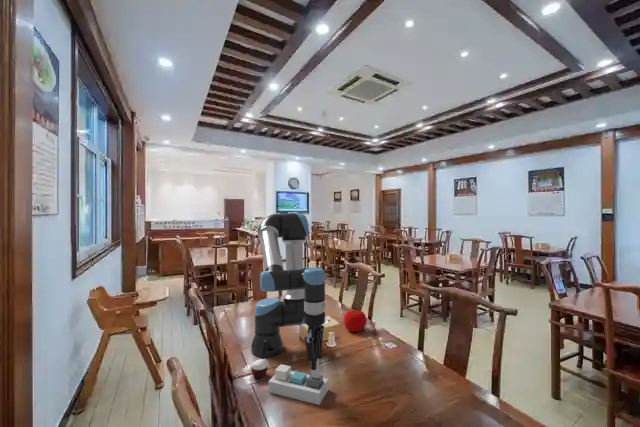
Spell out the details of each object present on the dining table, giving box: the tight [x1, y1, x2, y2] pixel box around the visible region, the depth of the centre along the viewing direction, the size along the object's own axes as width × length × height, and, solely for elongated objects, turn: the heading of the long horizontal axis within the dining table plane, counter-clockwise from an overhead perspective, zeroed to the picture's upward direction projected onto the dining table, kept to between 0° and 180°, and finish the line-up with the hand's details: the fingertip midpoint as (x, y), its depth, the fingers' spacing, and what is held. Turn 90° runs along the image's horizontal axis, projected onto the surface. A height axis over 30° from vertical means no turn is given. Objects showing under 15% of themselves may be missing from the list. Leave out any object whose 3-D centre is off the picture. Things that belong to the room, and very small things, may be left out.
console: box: [267, 370, 330, 406], centre depth 111 cm, size 20×9×4 cm, turn 68°
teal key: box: [291, 370, 308, 386], centre depth 111 cm, size 4×4×4 cm
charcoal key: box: [307, 374, 324, 390], centre depth 109 cm, size 4×4×4 cm
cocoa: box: [250, 340, 269, 379], centre depth 122 cm, size 10×6×12 cm, turn 139°
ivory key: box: [274, 364, 292, 382], centre depth 114 cm, size 4×4×4 cm
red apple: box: [343, 309, 367, 333], centre depth 166 cm, size 12×13×11 cm
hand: (315, 376), depth 109 cm, fingers closed
